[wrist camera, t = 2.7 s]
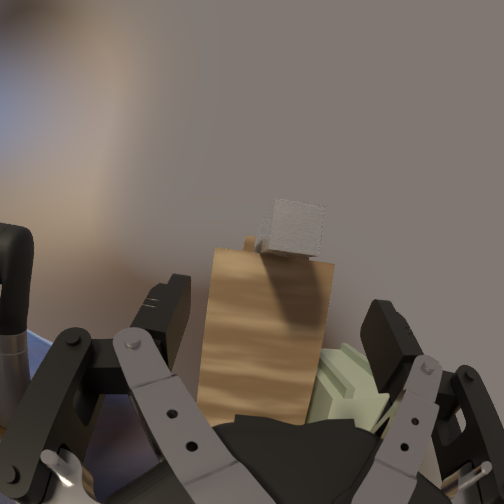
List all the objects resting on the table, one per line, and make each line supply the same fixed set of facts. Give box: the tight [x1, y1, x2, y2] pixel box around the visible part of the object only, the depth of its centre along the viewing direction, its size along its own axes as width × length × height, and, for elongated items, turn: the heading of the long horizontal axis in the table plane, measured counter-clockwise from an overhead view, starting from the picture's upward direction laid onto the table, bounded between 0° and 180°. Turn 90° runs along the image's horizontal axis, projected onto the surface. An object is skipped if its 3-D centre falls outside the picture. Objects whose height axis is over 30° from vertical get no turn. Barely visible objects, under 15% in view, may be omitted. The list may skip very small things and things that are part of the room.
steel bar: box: [254, 198, 325, 258], centre depth 32 cm, size 24×4×4 cm, turn 2°
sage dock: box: [304, 343, 389, 431], centre depth 36 cm, size 20×10×22 cm, turn 2°
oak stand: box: [197, 236, 334, 427], centre depth 35 cm, size 15×12×36 cm
